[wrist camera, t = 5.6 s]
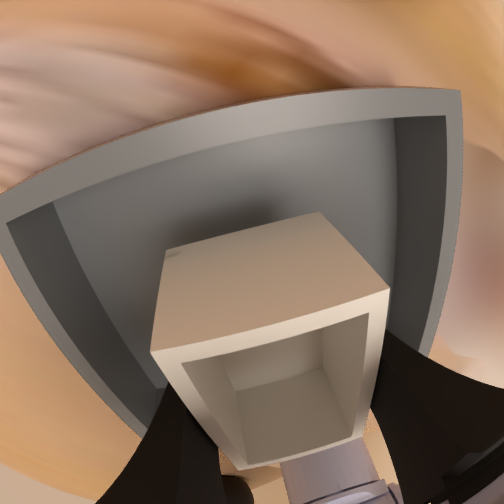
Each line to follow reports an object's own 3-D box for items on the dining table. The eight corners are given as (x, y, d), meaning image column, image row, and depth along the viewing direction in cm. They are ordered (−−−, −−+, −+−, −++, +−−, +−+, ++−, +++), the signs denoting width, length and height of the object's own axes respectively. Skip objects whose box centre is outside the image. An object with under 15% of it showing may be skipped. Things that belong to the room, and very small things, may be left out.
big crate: (392, 326, 19) (422, 370, 16) (150, 389, 19) (147, 443, 15) (396, 85, 12) (460, 90, 8) (34, 173, 11) (-20, 207, 7)
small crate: (328, 361, 14) (362, 436, 10) (226, 389, 14) (238, 470, 10) (318, 211, 10) (390, 287, 6) (165, 250, 10) (149, 352, 6)
